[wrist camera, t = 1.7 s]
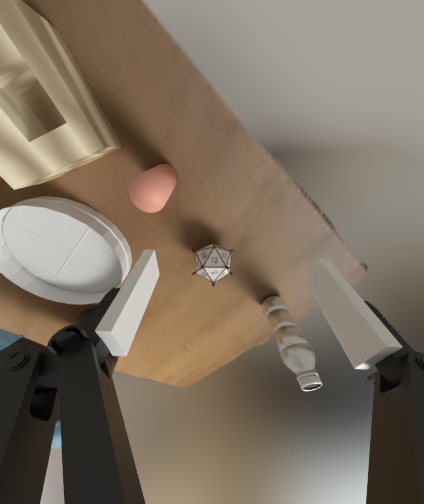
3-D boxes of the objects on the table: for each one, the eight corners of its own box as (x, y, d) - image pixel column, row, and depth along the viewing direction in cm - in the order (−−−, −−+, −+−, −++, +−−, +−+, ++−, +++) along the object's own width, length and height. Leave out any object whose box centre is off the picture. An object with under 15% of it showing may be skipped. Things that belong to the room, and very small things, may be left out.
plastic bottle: (258, 295, 45) (294, 383, 29) (283, 290, 45) (334, 376, 28) (259, 310, 49) (292, 396, 32) (282, 305, 49) (327, 390, 32)
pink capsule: (161, 192, 29) (141, 217, 19) (148, 169, 27) (119, 182, 17) (181, 184, 29) (173, 205, 19) (171, 159, 27) (154, 167, 16)
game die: (213, 249, 41) (214, 291, 37) (183, 241, 36) (181, 288, 32) (241, 237, 34) (246, 286, 31) (210, 225, 29) (212, 281, 26)
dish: (102, 301, 43) (92, 318, 39) (-6, 253, 33) (-35, 268, 29) (152, 247, 35) (146, 260, 31) (32, 165, 26) (0, 169, 22)
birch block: (48, 181, 27) (14, 189, 22) (-35, 85, 21) (-110, 65, 16) (122, 146, 25) (104, 147, 20) (57, 29, 19) (6, -13, 14)
